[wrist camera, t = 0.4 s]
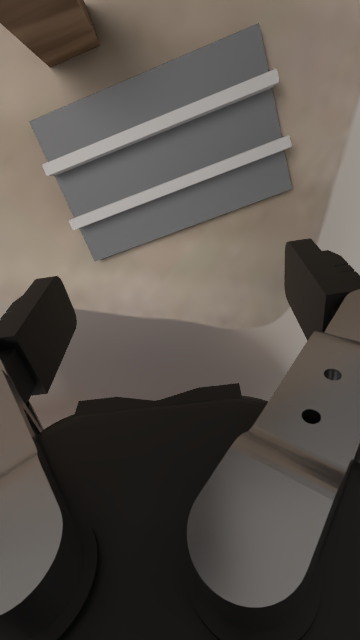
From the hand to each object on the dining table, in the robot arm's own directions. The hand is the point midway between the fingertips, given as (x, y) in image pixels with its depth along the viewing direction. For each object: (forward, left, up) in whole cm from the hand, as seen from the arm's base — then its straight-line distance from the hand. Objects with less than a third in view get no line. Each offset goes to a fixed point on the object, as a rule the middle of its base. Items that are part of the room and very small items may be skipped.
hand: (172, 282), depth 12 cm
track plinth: (-5, +2, -26) cm, 27 cm away
